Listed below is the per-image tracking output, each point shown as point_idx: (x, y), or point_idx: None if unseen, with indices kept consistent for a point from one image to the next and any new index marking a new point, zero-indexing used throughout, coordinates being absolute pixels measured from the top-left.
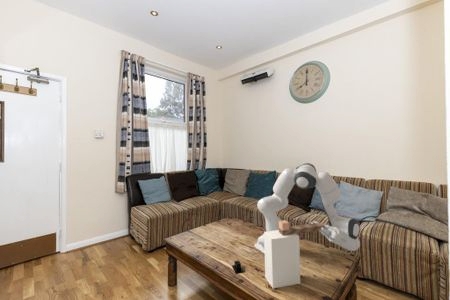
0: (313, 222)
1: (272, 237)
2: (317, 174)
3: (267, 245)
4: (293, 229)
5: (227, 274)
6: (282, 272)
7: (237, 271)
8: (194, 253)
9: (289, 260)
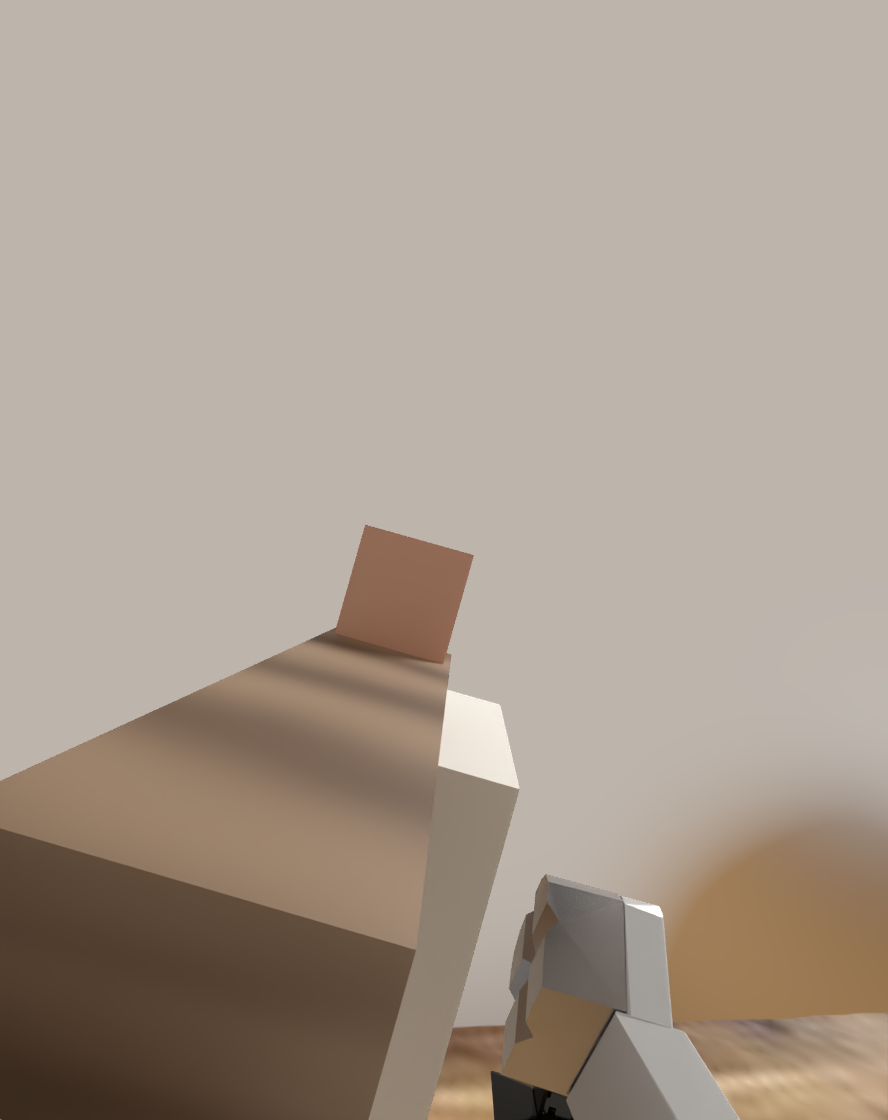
0: (543, 884)
1: None
2: None
3: None
4: (319, 638)
5: (501, 1034)
6: None
7: (518, 1088)
8: (808, 1026)
9: None
